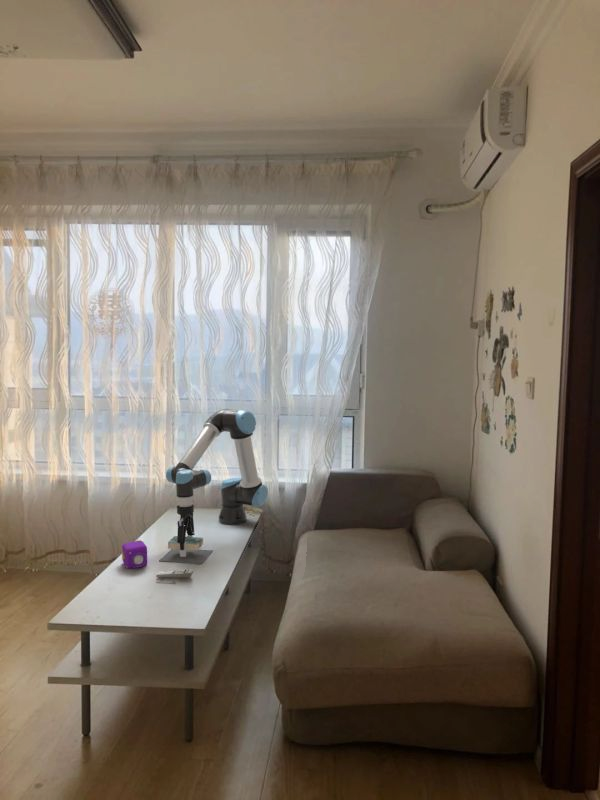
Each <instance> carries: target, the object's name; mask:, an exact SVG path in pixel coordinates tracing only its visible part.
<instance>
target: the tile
mask: <svg viewBox="0 0 600 800" xmlns="http://www.w3.org/2000/svg"><path fill="white" fill-rule="evenodd" d="M177 536H178V535H173V537H171V539H170V540H168V541H167V549H170V550H171V549H180V543H177ZM185 542H186V550H198V549H201V547H202V546H203V545H204V537H199V536H198V537H196V536H193V537H187V536H185Z"/></svg>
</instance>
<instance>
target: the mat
mask: <svg viewBox="0 0 600 800" xmlns="http://www.w3.org/2000/svg"><path fill="white" fill-rule="evenodd" d="M213 552H214V550H213V549H201V548H199V549H198V550H186V557H181V556H180V549H170V550H168V552H166V553H165V554H164V555H163V556H162V557H161V558H160V559H159V560H158V562H160V563H175V564H188V565H189V564H190V565H203V563H204V562H205V561H206V560H207V559H208V558H207V557H210V555H211V554H212V553H213Z"/></svg>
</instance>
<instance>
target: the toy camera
mask: <svg viewBox="0 0 600 800" xmlns="http://www.w3.org/2000/svg"><path fill="white" fill-rule="evenodd" d="M121 558H122V559H121V560H122V563H123V564H124V566H125V568H127V569H135V568H141V567H144V566H145V567H146V566H147V565H148V547H147V545H146V544H145V542H144V541H142V540H141V539H137V540H134V541H130V542H129V541H128V542H124V543H122V545H121Z"/></svg>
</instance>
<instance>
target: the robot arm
mask: <svg viewBox="0 0 600 800" xmlns="http://www.w3.org/2000/svg"><path fill="white" fill-rule="evenodd" d="M256 425H257V421H256V418H255V415H254V414H253V413H252V412H251V411H250V410H245V409H231V408H223V409H220V410H218V411H216V412H214V413H213V414H212V415H210V417H209V418H208V419H206V421H205V422H204V423H203V425H202V427H203V428H202V430H201V431H200V432H199V434H198V435H197V436H196V438H195V440H194V441H193V442H192V443H191V445H190V446H189V447H188V449H187V451H186V452H185V453H184V455H183V456H182V457H181V458H180V460H179V461H178V462H177V464H176V466H170V467H168V468H167V469H166V473H165V479H166V480H167V481H168V483H172V484H175V487H176V497H175V500H176V505H177V506H176V513H177V514H178V515H179V516H180V518H179V520H178V521H177V523H176V524H177V535H176V536H177V543H180V556H181V557H186V542H185V537H194V536H195V523H194V522H195V521H194V512H195V511H194V509H195V506H194V500H195V499H194V498H195V497H194V490H197V489H199V488H202V487H205V486H207V485H209V484H210V483H211V482H212V474H211V472H210V471H209V470H208V469H200V470H195V469H194V468H195V467H196V465H197V464H198V463H199V461H200V459H202V457H203V456H204V454H205V453H206V452H207V450H208V449H209V447H210V446H211V445H212V443H213V441H214V440H215V438H217V437H219V436H220V435H221V434H222V433H223V432H229V436H230V438H231V440H233V441H234V446H235V450H236V457H237V461H238V467H239V472H240V477H232V478H227V479H224V480H223V481H221V487H220V489H221V490H220V491H221V508H220V512H219V515H218V522H219V521H220V522H221V524H223V523H224V524H223V525H239V524H242V523H245V522H246V521H247V513H246V511H245V507H244V505H247V506H252V507H261V506H263V505H264V504H265V503H266V500H267V498H268V495H269V490H268V486H266V485H265V484H263V481H262V479H261V478H260V477H259V476H258V469H257V465H256V460H255V459H256V458H255V453H254V448H253V442H252V436H253V434H254V431H255V430H256ZM220 522H219V523H220Z"/></svg>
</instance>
